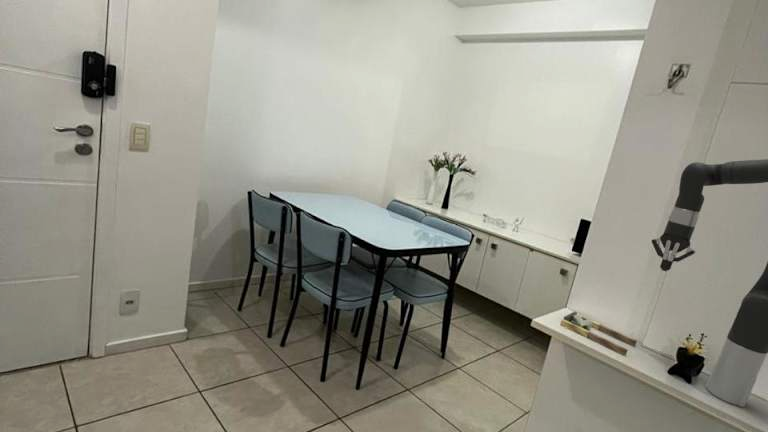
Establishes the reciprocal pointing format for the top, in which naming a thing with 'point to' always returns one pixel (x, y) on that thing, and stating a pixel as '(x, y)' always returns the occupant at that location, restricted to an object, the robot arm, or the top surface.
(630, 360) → the top surface
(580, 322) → the pipe fitting
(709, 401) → the top surface
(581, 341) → the top surface
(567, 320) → the rail
